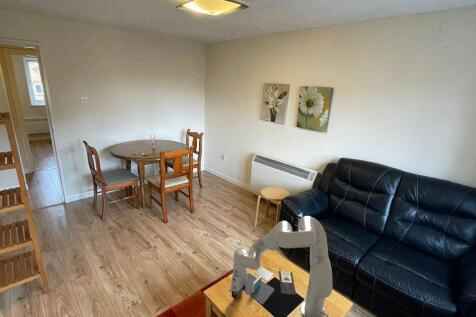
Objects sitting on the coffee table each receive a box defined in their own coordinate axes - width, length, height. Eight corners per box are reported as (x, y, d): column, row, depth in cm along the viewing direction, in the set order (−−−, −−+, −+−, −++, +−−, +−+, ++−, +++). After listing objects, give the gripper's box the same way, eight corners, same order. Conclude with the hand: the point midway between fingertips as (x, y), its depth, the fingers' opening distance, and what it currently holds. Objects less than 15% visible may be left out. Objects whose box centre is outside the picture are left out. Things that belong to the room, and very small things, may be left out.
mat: (274, 289, 149) (274, 289, 149) (262, 305, 139) (262, 304, 139) (249, 273, 161) (249, 272, 161) (235, 286, 151) (235, 285, 151)
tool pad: (273, 274, 161) (273, 274, 161) (267, 281, 155) (267, 281, 155) (261, 267, 167) (261, 266, 167) (254, 273, 161) (254, 273, 161)
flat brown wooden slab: (242, 295, 145) (242, 282, 141) (236, 300, 141) (237, 287, 138) (239, 293, 146) (240, 280, 143) (234, 298, 142) (234, 285, 139)
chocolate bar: (281, 293, 146) (278, 270, 164) (281, 294, 147) (278, 272, 164) (296, 294, 146) (292, 272, 163) (295, 296, 146) (291, 273, 163)
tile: (261, 285, 152) (262, 276, 150) (253, 293, 146) (254, 284, 144) (259, 284, 153) (260, 275, 150) (252, 292, 147) (252, 283, 144)
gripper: (235, 282, 128) (233, 307, 134) (254, 264, 141) (252, 287, 147) (224, 274, 133) (223, 299, 138) (243, 258, 146) (242, 281, 151)
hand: (238, 293), depth 142 cm, fingers open, 7 cm apart
